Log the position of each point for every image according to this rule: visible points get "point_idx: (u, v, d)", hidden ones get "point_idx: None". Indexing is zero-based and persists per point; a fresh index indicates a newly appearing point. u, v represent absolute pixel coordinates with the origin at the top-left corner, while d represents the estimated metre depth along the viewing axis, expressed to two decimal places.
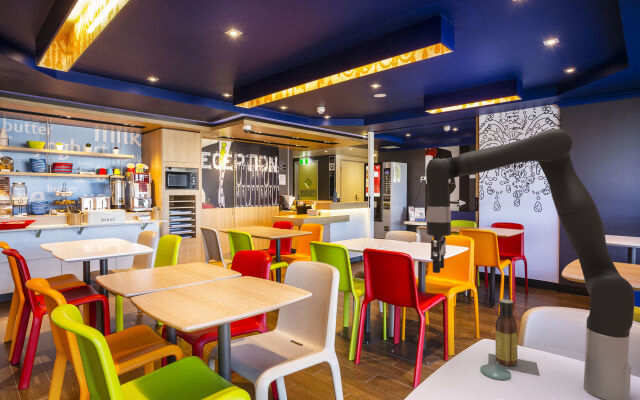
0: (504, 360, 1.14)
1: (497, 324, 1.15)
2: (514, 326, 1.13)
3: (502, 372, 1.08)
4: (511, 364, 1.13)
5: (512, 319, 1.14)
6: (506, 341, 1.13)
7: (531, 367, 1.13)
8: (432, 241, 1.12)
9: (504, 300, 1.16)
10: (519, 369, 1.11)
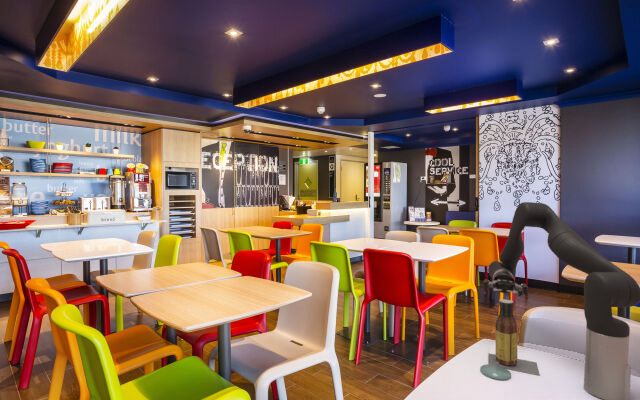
0: (504, 360, 1.14)
1: (497, 324, 1.15)
2: (514, 326, 1.13)
3: (502, 372, 1.08)
4: (511, 364, 1.13)
5: (512, 319, 1.14)
6: (506, 341, 1.13)
7: (531, 367, 1.13)
8: None
9: (504, 300, 1.16)
10: (519, 369, 1.11)
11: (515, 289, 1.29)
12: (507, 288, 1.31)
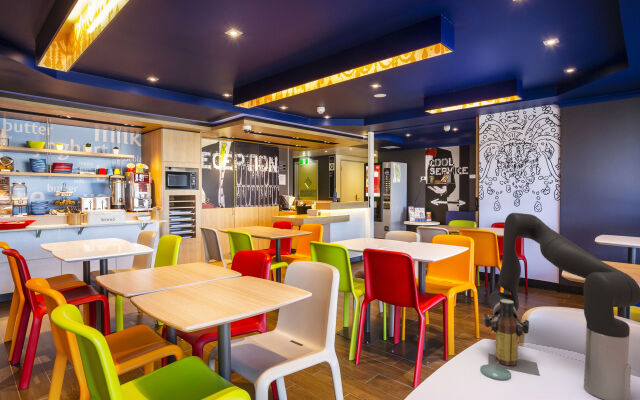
0: (504, 360, 1.14)
1: (497, 324, 1.15)
2: (514, 326, 1.13)
3: (502, 372, 1.08)
4: (511, 364, 1.13)
5: (513, 319, 1.14)
6: (506, 341, 1.13)
7: (531, 367, 1.13)
8: None
9: (505, 300, 1.16)
10: (519, 369, 1.11)
11: None
12: None
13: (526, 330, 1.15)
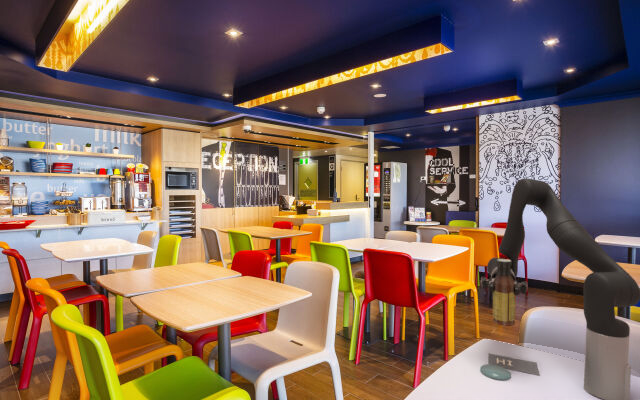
0: (501, 320, 1.10)
1: (494, 284, 1.12)
2: (512, 285, 1.09)
3: (502, 372, 1.08)
4: (508, 324, 1.10)
5: (510, 278, 1.10)
6: (504, 301, 1.10)
7: (531, 367, 1.13)
8: None
9: (502, 259, 1.12)
10: (519, 369, 1.11)
11: None
12: None
13: (524, 290, 1.12)
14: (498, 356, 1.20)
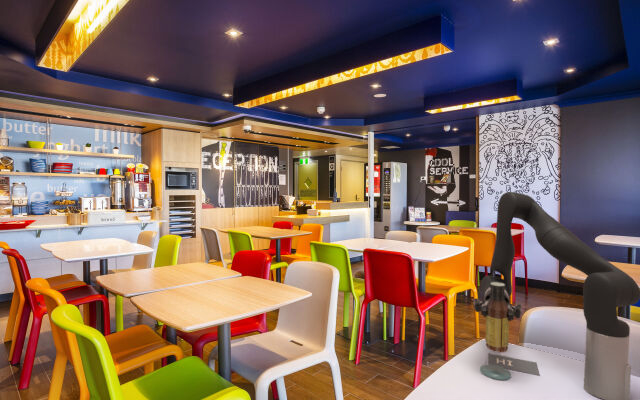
0: (494, 346, 1.07)
1: (487, 308, 1.08)
2: (505, 310, 1.06)
3: (502, 372, 1.08)
4: (501, 351, 1.06)
5: (503, 303, 1.07)
6: (497, 326, 1.06)
7: (531, 367, 1.13)
8: None
9: (495, 283, 1.09)
10: (519, 369, 1.11)
11: None
12: None
13: (518, 315, 1.08)
14: (498, 356, 1.20)
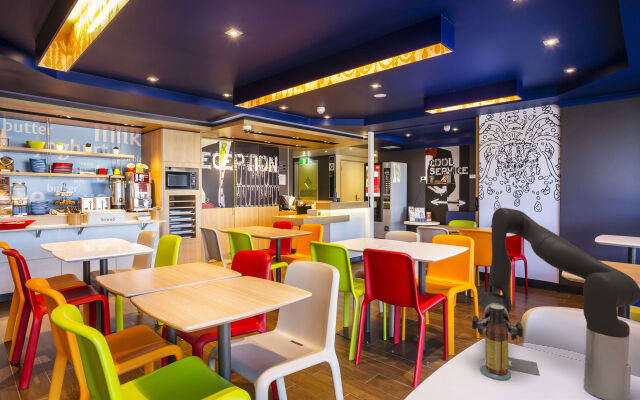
0: (494, 369, 1.07)
1: (487, 331, 1.08)
2: (505, 333, 1.06)
3: None
4: (501, 373, 1.06)
5: (503, 326, 1.07)
6: (496, 349, 1.06)
7: (531, 367, 1.13)
8: None
9: (495, 305, 1.09)
10: (519, 369, 1.11)
11: (508, 330, 1.11)
12: None
13: (521, 333, 1.08)
14: None
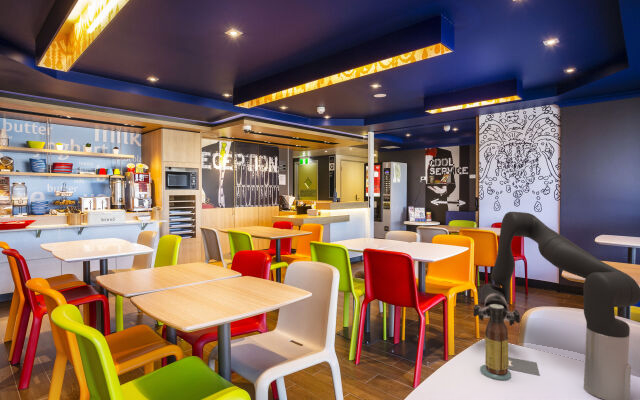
0: (494, 369, 1.07)
1: (487, 331, 1.09)
2: (505, 333, 1.06)
3: None
4: (501, 373, 1.06)
5: (503, 325, 1.07)
6: (496, 349, 1.06)
7: (531, 367, 1.13)
8: None
9: (494, 305, 1.09)
10: (519, 369, 1.11)
11: (507, 317, 1.22)
12: None
13: (518, 320, 1.20)
14: None
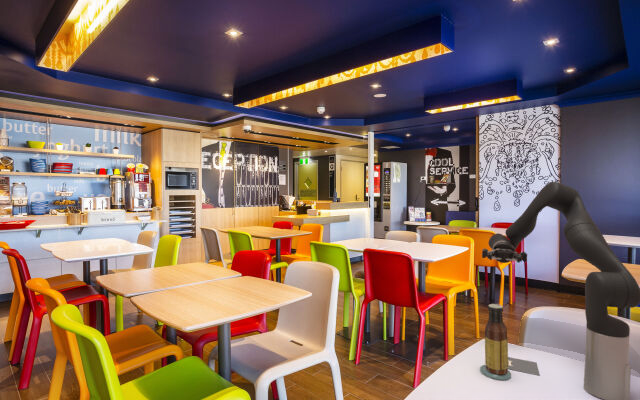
0: (494, 369, 1.07)
1: (486, 330, 1.09)
2: (504, 332, 1.06)
3: None
4: (501, 373, 1.06)
5: (502, 325, 1.07)
6: (496, 349, 1.06)
7: (531, 367, 1.13)
8: None
9: (493, 305, 1.09)
10: (519, 369, 1.11)
11: (514, 257, 1.27)
12: (506, 256, 1.29)
13: (526, 258, 1.25)
14: None
